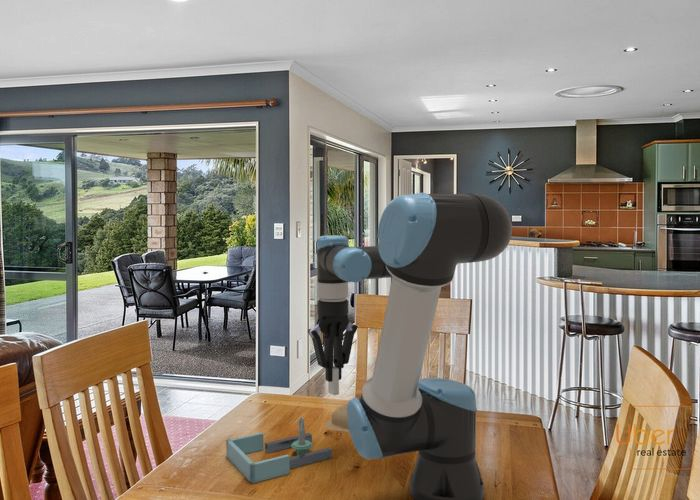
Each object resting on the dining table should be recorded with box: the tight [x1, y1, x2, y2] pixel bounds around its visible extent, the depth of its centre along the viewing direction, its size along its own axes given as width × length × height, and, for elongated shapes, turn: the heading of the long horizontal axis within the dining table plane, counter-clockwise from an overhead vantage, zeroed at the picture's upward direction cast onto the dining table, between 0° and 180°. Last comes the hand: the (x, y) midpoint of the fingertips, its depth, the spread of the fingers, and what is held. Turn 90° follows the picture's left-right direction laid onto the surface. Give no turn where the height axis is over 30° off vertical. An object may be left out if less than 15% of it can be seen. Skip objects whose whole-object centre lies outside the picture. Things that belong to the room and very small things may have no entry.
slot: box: [264, 432, 333, 469], centre depth 140 cm, size 12×12×2 cm
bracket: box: [225, 432, 290, 484], centre depth 134 cm, size 16×9×4 cm, turn 31°
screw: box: [291, 416, 313, 456], centre depth 140 cm, size 9×5×5 cm
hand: (333, 393), depth 144 cm, fingers closed
